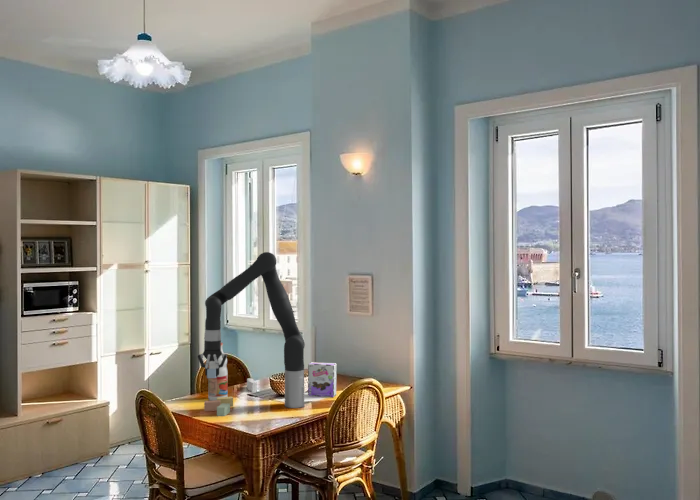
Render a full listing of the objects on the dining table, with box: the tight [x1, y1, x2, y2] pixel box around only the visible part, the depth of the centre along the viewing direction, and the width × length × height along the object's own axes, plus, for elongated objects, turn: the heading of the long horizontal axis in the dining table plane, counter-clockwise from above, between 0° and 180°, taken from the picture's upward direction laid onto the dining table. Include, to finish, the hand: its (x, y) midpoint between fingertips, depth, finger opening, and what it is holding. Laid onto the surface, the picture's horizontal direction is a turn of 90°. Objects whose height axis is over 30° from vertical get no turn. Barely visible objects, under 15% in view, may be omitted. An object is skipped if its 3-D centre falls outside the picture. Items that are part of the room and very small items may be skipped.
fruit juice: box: [207, 342, 229, 401], centre depth 307 cm, size 9×9×28 cm
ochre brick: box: [217, 396, 234, 408], centre depth 294 cm, size 7×4×4 cm, turn 108°
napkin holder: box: [246, 377, 258, 393], centre depth 329 cm, size 15×11×6 cm
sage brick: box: [216, 403, 231, 417], centre depth 280 cm, size 7×4×4 cm, turn 172°
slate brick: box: [206, 369, 216, 379], centre depth 287 cm, size 7×4×4 cm, turn 5°
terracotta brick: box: [203, 400, 220, 412], centre depth 287 cm, size 7×4×4 cm, turn 100°
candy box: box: [307, 361, 338, 398], centre depth 315 cm, size 14×6×16 cm, turn 76°
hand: (212, 376), depth 287 cm, fingers closed on slate brick, 3 cm apart
